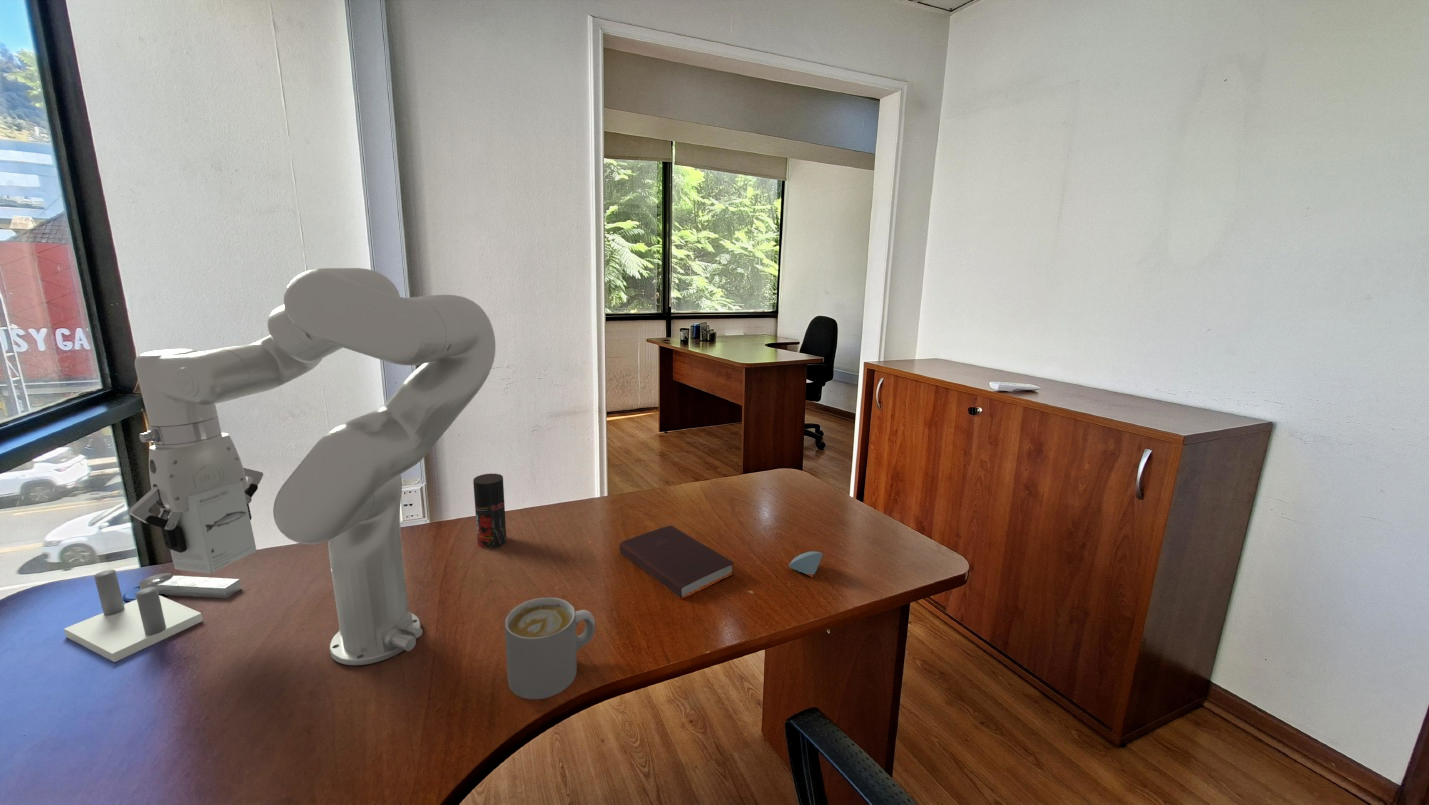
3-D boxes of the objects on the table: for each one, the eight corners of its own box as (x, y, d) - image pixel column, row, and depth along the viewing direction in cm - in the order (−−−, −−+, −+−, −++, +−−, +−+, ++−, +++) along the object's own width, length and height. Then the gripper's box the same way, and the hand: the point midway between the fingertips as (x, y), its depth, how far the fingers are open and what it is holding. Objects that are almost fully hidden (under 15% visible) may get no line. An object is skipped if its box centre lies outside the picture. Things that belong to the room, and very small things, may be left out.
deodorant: (512, 541, 124) (508, 477, 120) (489, 551, 119) (484, 486, 115) (495, 533, 127) (491, 471, 123) (471, 543, 122) (467, 479, 118)
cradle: (203, 621, 93) (194, 575, 91) (115, 662, 83) (102, 612, 81) (154, 599, 98) (144, 556, 96) (65, 636, 88) (52, 588, 86)
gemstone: (836, 568, 111) (826, 544, 114) (802, 578, 109) (792, 554, 111) (823, 578, 118) (814, 555, 120) (790, 588, 115) (782, 565, 118)
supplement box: (211, 575, 85) (193, 498, 82) (173, 570, 86) (153, 494, 83) (259, 551, 92) (243, 479, 89) (223, 547, 93) (206, 476, 90)
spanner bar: (244, 586, 103) (242, 577, 103) (223, 600, 99) (221, 590, 98) (159, 582, 103) (156, 572, 103) (134, 595, 99) (132, 585, 99)
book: (679, 602, 104) (680, 585, 103) (618, 555, 120) (618, 540, 119) (734, 578, 113) (735, 561, 112) (671, 537, 129) (671, 522, 128)
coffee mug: (513, 708, 78) (510, 646, 75) (503, 663, 86) (500, 606, 84) (606, 679, 84) (606, 621, 81) (589, 640, 92) (588, 586, 90)
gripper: (124, 452, 75) (155, 569, 79) (266, 419, 90) (286, 519, 94) (94, 445, 77) (126, 559, 81) (238, 415, 93) (258, 512, 97)
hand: (212, 537), depth 88 cm, fingers closed on supplement box, 8 cm apart
